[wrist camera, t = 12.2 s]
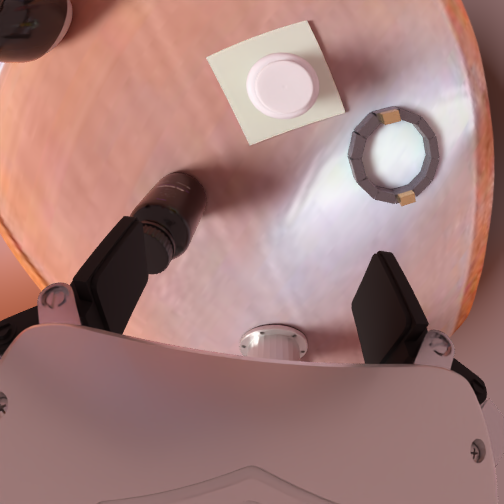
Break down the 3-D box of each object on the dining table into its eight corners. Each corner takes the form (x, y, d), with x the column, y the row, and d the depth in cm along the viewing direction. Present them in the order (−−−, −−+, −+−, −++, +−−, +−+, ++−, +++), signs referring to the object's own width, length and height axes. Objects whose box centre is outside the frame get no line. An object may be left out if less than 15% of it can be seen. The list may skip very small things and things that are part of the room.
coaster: (344, 111, 26) (345, 112, 26) (250, 144, 29) (249, 145, 29) (306, 21, 20) (306, 20, 20) (207, 57, 23) (206, 57, 23)
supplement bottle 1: (189, 161, 31) (151, 209, 21) (217, 207, 34) (196, 270, 24) (145, 186, 33) (99, 239, 23) (173, 227, 36) (142, 290, 27)
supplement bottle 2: (240, 84, 25) (225, 88, 16) (278, 47, 22) (282, 33, 14) (280, 118, 27) (285, 140, 18) (317, 84, 24) (342, 89, 16)
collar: (436, 184, 30) (445, 192, 28) (361, 207, 33) (367, 217, 31) (422, 99, 24) (433, 102, 22) (336, 121, 27) (341, 125, 25)
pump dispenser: (94, 28, 20) (-1, 28, 8) (39, 72, 22) (-48, 99, 10) (78, -24, 14) (-6, -37, 2) (25, 22, 16) (-56, 34, 4)
